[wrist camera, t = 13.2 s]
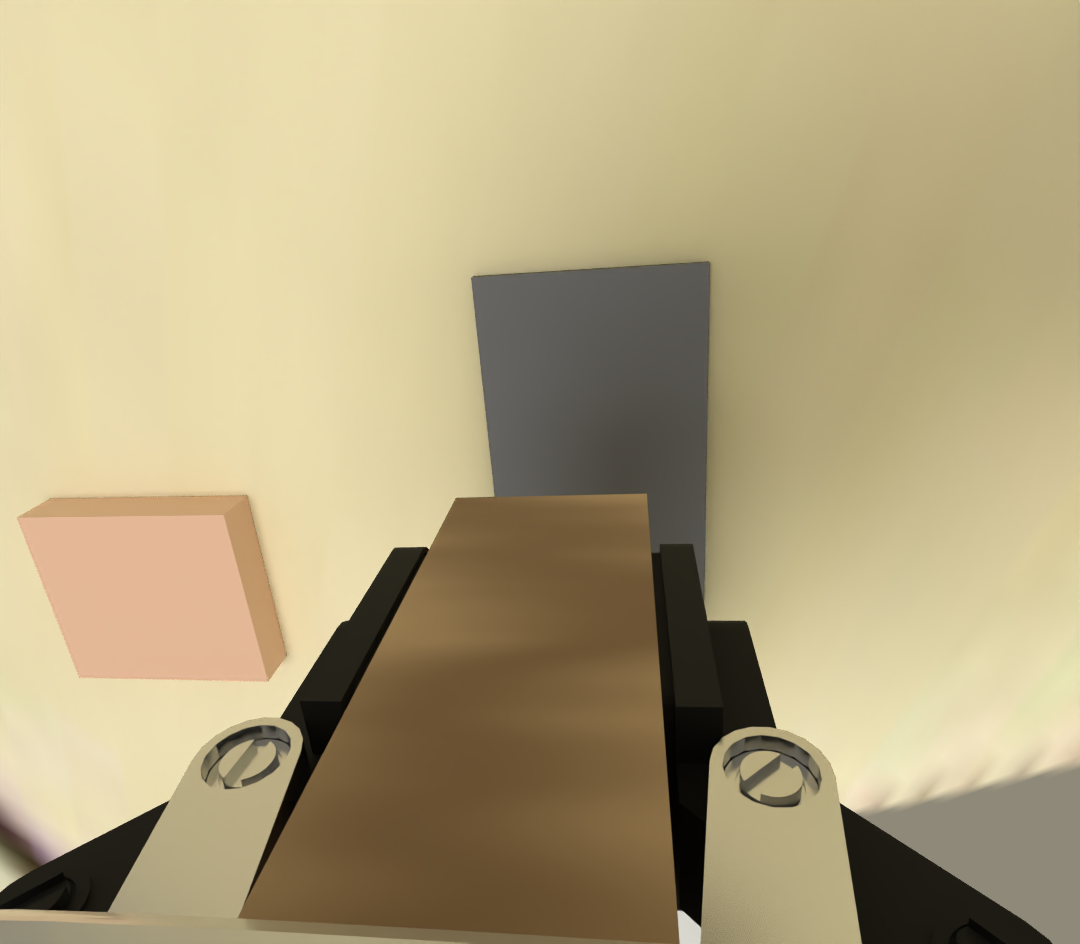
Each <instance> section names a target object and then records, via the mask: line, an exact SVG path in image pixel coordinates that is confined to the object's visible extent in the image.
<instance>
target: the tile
mask: <svg viewBox="0 0 1080 944" xmlns="http://www.w3.org/2000/svg"><path fill="white" fill-rule="evenodd" d="M17 520H18V522H19V525H20V527H21V530H22V532H23V535H24V537H25V540H26V543H27V545H28V548H29V550H30V553H31V555H32V558H33V560H34V563H35V566H36V568H37V571H38V573H39V576H40V578H41V581H42V583H43V586H44V589H45V591H46V594H47V596H48V599H49V601H50V604H51V606H52V609H53V612H54V614H55V617H56V619H57V622H58V624H59V627H60V629H61V632H62V635H63V637H64V640H65V642H66V645H67V647H68V650H69V652H70V655H71V658H72V660H73V663H74V665H75V668H76V670H77V673H78V675H79V678H122V679H172V680H221V681H269V679H270V678H271V677H272V675H273V674H274V672H275V671H276V669H277V668H278V667H279V665H280V664H281V662H282V661H283V660H284V658H285V657H286V651H285V647H284V642H283V638H282V634H281V630H280V626H279V622H278V618H277V614H276V610H275V606H274V602H273V598H272V594H271V590H270V586H269V582H268V578H267V574H266V570H265V566H264V562H263V558H262V554H261V550H260V546H259V542H258V538H257V534H256V530H255V526H254V522H253V518H252V514H251V510H250V506H249V502H248V498H247V495H243V496H180V497H118V498H56V499H49V500H47V501H46V502H44V503H42V504H40V505H38V506H37V507H35V508H33V509H31V510H30V511H28V512H26V513H24V514H22V515H21V516H19V517H17Z"/></svg>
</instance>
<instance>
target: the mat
mask: <svg viewBox="0 0 1080 944" xmlns="http://www.w3.org/2000/svg"><path fill="white" fill-rule="evenodd" d="M709 277H710V263H709V262H693V263H677V264H661V265H645V266H629V267H614V268H598V269H582V270H566V271H550V272H534V273H518V274H502V275H486V276H473V277H472V278H471V280H472V289H473V299H474V308H475V317H476V326H477V336H478V345H479V354H480V363H481V373H482V382H483V391H484V400H485V410H486V419H487V428H488V437H489V447H490V456H491V465H492V474H493V484H494V493H495V497H520V496H564V495H608V494H647V504H648V517H649V531H650V545H651V553H658V552H659V550H660V544H693V547H694V553H695V558H696V563H697V569H698V574H699V579H700V585H701V590H702V595H703V601H704V579H705V519H706V458H707V398H708V337H709Z"/></svg>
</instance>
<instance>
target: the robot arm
mask: <svg viewBox="0 0 1080 944" xmlns="http://www.w3.org/2000/svg"><path fill="white" fill-rule="evenodd" d="M428 551H429V549H428V548H427V547H405V548H394V549H393V550H392V552H391V554H390V555H389V557H388V558H387V560H386V562H385V563H384V565H383V566H382V568H381V570H380V571H379V573H378V575H377V576H376V578H375V579H374V581H373V583H372V584H371V586H370V587H369V589H368V591H367V592H366V594H365V596H364V597H363V599H362V600H361V602H360V604H359V605H358V607H357V608H356V610H355V612H354V613H353V615H352V617H351V618H350V620H349V621H345V622H342V623H341V624H340V625H339V626H338V628H337V629H336V631H335V632H334V634H333V635H332V637H331V639H330V640H329V642H328V643H327V645H326V646H325V648H324V650H323V651H322V653H321V654H320V656H319V658H318V659H317V661H316V662H315V664H314V665H313V667H312V669H311V670H310V672H309V673H308V675H307V676H306V678H305V680H304V681H303V683H302V684H301V686H300V687H299V689H298V691H297V692H296V694H295V695H294V697H293V698H292V700H291V702H290V703H289V705H288V706H287V708H286V710H285V711H284V713H283V714H282V716H281V717H280V718H259V719H254V720H249V721H245V722H243V723H240V724H238V725H235V726H232V727H230V728H228V729H227V730H225V731H223V732H221V733H220V734H218V735H216V736H215V737H214V738H212V739H211V740H210V741H209V742H208V743H206V744H205V745H204V746H203V747H202V748H201V749H200V750H199V752H198V753H197V754H196V756H195V757H194V758H193V760H192V761H191V763H190V765H189V767H188V769H187V770H186V772H185V774H184V776H183V778H182V779H181V781H180V783H179V785H178V787H177V788H176V790H175V792H174V794H173V796H172V797H171V799H170V800H169V801H167V802H165V803H163V804H161V805H159V806H157V807H156V808H154V809H152V810H150V811H148V812H146V813H144V814H142V815H140V816H138V817H136V818H134V819H132V820H130V821H128V822H126V823H124V824H122V825H120V826H118V827H117V828H115V829H113V830H111V831H109V832H107V833H105V834H103V835H101V836H99V837H97V838H95V839H93V840H91V841H89V842H87V843H85V844H83V845H81V846H80V847H78V848H76V849H74V850H72V851H70V852H68V853H66V854H64V855H62V856H60V857H58V858H56V859H54V860H52V861H50V862H48V863H46V864H44V865H42V866H41V867H39V868H37V869H35V870H33V871H31V872H29V873H28V874H26V875H24V876H23V877H21V878H19V879H18V880H16V881H15V882H13V883H11V884H10V885H9V886H7V887H6V888H5V889H4V890H3V891H1V892H0V944H665V943H650V942H634V941H618V940H603V939H587V938H571V937H556V936H540V935H523V934H506V933H489V932H472V931H455V930H438V929H421V928H404V927H386V926H368V925H351V924H333V923H315V922H297V921H278V920H258V919H239V918H238V916H239V914H240V912H241V910H242V908H243V906H244V904H245V902H246V900H247V898H248V897H249V895H250V893H251V891H252V889H253V887H254V885H255V883H256V881H257V879H258V877H259V875H260V874H261V872H262V870H263V868H264V866H265V864H266V862H267V860H268V858H269V856H270V854H271V852H272V850H273V849H274V847H275V845H276V843H277V841H278V839H279V837H280V835H281V833H282V831H283V829H284V827H285V826H286V824H287V822H288V820H289V818H290V816H291V814H292V812H293V810H294V808H295V806H296V804H297V803H298V801H299V799H300V797H301V795H302V793H303V791H304V789H305V787H306V785H307V783H308V781H309V779H310V778H311V776H312V774H313V772H314V770H315V768H316V766H317V764H318V762H319V760H320V758H321V756H322V755H323V753H324V751H325V749H326V747H327V745H328V743H329V741H330V739H331V737H332V735H333V733H334V731H335V730H336V728H337V726H338V724H339V722H340V720H341V718H342V716H343V714H344V712H345V710H346V708H347V707H348V705H349V703H350V701H351V699H352V697H353V695H354V693H355V691H356V689H357V687H358V685H359V683H360V682H361V680H362V678H363V676H364V674H365V672H366V670H367V668H368V666H369V664H370V662H371V660H372V659H373V657H374V655H375V653H376V651H377V649H378V647H379V645H380V643H381V641H382V639H383V637H384V635H385V634H386V632H387V630H388V628H389V626H390V624H391V622H392V620H393V618H394V616H395V614H396V612H397V611H398V609H399V607H400V605H401V603H402V601H403V599H404V597H405V595H406V593H407V591H408V589H409V587H410V586H411V584H412V582H413V580H414V578H415V576H416V574H417V572H418V570H419V568H420V566H421V564H422V563H423V561H424V559H425V557H426V555H427V553H428ZM651 558H652V572H653V586H654V599H655V613H656V627H657V640H658V654H659V668H660V681H661V695H662V709H663V722H664V736H665V750H666V763H667V777H668V791H669V804H670V818H671V832H672V845H673V859H674V873H675V886H676V900H677V911H683V912H684V913H686V914H687V915H688V916H689V917H690V918H691V919H692V920H693V921H694V922H695V923H696V924H698V925H699V926H700V927H701V943H700V944H1052V943H1051V941H1050V940H1049V939H1047V938H1046V937H1045V936H1044V935H1042V934H1041V933H1040V932H1038V931H1037V930H1036V929H1034V928H1033V927H1032V926H1030V925H1029V924H1028V923H1026V922H1025V921H1024V920H1022V919H1021V918H1019V917H1018V916H1016V915H1014V914H1013V913H1011V912H1010V911H1008V910H1007V909H1005V908H1003V907H1002V906H1000V905H999V904H997V903H995V902H994V901H992V900H991V899H989V898H988V897H986V896H985V895H983V894H982V893H980V892H978V891H977V890H975V889H974V888H972V887H971V886H969V885H967V884H966V883H964V882H962V881H961V880H960V879H958V878H956V877H955V876H953V875H952V874H950V873H949V872H947V871H945V870H944V869H942V868H941V867H939V866H937V865H936V864H935V863H933V862H931V861H930V860H928V859H927V858H925V857H924V856H922V855H920V854H919V853H917V852H916V851H914V850H913V849H911V848H909V847H908V846H906V845H905V844H903V843H902V842H900V841H898V840H897V839H895V838H894V837H892V836H891V835H889V834H888V833H886V832H884V831H883V830H881V829H880V828H878V827H877V826H875V825H873V824H872V823H870V822H869V821H867V820H866V819H864V818H862V817H861V816H859V815H858V814H856V813H855V812H853V811H851V810H850V809H848V808H847V807H845V806H844V805H842V804H841V803H840V802H839V796H838V790H837V783H836V777H835V775H834V772H833V769H832V767H831V764H830V762H829V761H828V760H827V758H826V757H825V756H824V755H823V754H822V752H821V751H820V750H819V749H818V748H816V747H815V746H814V745H812V744H811V743H810V742H808V741H807V740H806V739H804V738H802V737H799V736H797V735H795V734H793V733H790V732H788V731H784V730H780V729H776V725H775V722H774V718H773V714H772V711H771V707H770V704H769V700H768V696H767V693H766V689H765V685H764V682H763V678H762V675H761V671H760V667H759V664H758V660H757V656H756V653H755V649H754V646H753V642H752V638H751V635H750V631H749V628H748V625H747V622H745V621H707V617H706V611H705V606H704V601H703V595H702V590H701V585H700V579H699V574H698V569H697V563H696V558H695V553H694V547H693V544H660V550H659V552H658V553H651Z"/></svg>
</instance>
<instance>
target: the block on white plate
mask: <svg viewBox="0 0 1080 944" xmlns="http://www.w3.org/2000/svg"><path fill="white" fill-rule="evenodd" d="M238 918H239V919H258V920H278V921H297V922H315V923H333V924H351V925H368V926H386V927H404V928H421V929H438V930H455V931H472V932H489V933H506V934H523V935H540V936H556V937H571V938H587V939H603V940H618V941H634V942H650V943H665V944H700V943H701V927H700V926H699V925H698V924H696V923H695V922H694V921H693V920H692V919H691V918H690V917H689V916H688V915H687V914H686V913H684V912H683V911H677V900H676V886H675V873H674V859H673V845H672V832H671V818H670V804H669V791H668V777H667V763H666V750H665V736H664V722H663V709H662V695H661V681H660V668H659V654H658V640H657V627H656V613H655V599H654V586H653V572H652V558H651V545H650V531H649V517H648V504H647V494H608V495H564V496H520V497H475V498H456V499H455V501H454V503H453V505H452V507H451V509H450V511H449V513H448V515H447V516H446V518H445V520H444V522H443V524H442V526H441V528H440V530H439V532H438V534H437V536H436V538H435V539H434V541H433V543H432V545H431V547H430V549H429V551H428V553H427V555H426V557H425V559H424V561H423V563H422V564H421V566H420V568H419V570H418V572H417V574H416V576H415V578H414V580H413V582H412V584H411V586H410V587H409V589H408V591H407V593H406V595H405V597H404V599H403V601H402V603H401V605H400V607H399V609H398V611H397V612H396V614H395V616H394V618H393V620H392V622H391V624H390V626H389V628H388V630H387V632H386V634H385V635H384V637H383V639H382V641H381V643H380V645H379V647H378V649H377V651H376V653H375V655H374V657H373V659H372V660H371V662H370V664H369V666H368V668H367V670H366V672H365V674H364V676H363V678H362V680H361V682H360V683H359V685H358V687H357V689H356V691H355V693H354V695H353V697H352V699H351V701H350V703H349V705H348V707H347V708H346V710H345V712H344V714H343V716H342V718H341V720H340V722H339V724H338V726H337V728H336V730H335V731H334V733H333V735H332V737H331V739H330V741H329V743H328V745H327V747H326V749H325V751H324V753H323V755H322V756H321V758H320V760H319V762H318V764H317V766H316V768H315V770H314V772H313V774H312V776H311V778H310V779H309V781H308V783H307V785H306V787H305V789H304V791H303V793H302V795H301V797H300V799H299V801H298V803H297V804H296V806H295V808H294V810H293V812H292V814H291V816H290V818H289V820H288V822H287V824H286V826H285V827H284V829H283V831H282V833H281V835H280V837H279V839H278V841H277V843H276V845H275V847H274V849H273V850H272V852H271V854H270V856H269V858H268V860H267V862H266V864H265V866H264V868H263V870H262V872H261V874H260V875H259V877H258V879H257V881H256V883H255V885H254V887H253V889H252V891H251V893H250V895H249V897H248V898H247V900H246V902H245V904H244V906H243V908H242V910H241V912H240V914H239V916H238Z"/></svg>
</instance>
